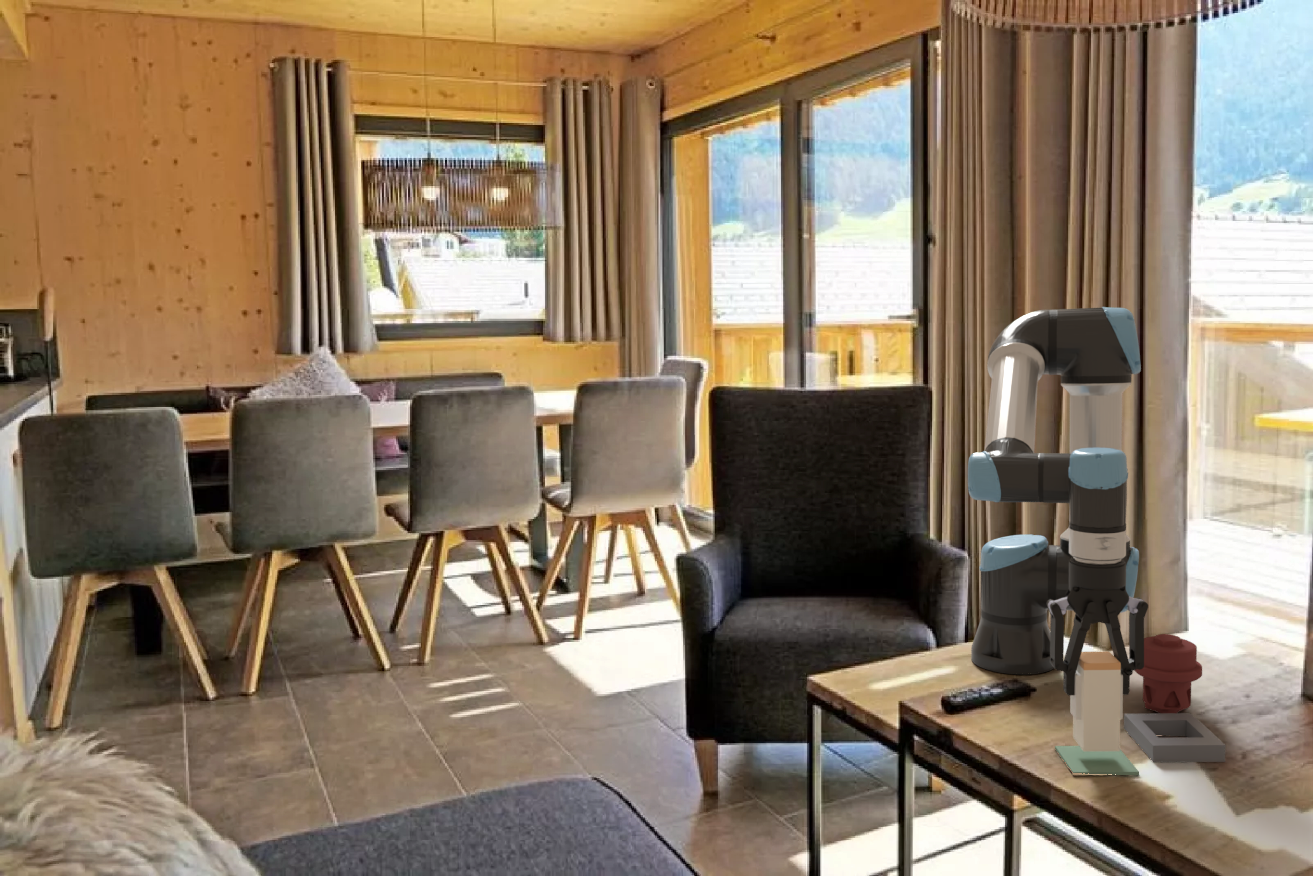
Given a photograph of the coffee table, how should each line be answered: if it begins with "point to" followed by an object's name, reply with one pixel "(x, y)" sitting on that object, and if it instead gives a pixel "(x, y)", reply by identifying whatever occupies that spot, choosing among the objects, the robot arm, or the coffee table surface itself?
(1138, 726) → the grey square frame
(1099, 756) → the mat
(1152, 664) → the mechanical component
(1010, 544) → the robot arm
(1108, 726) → the plug
